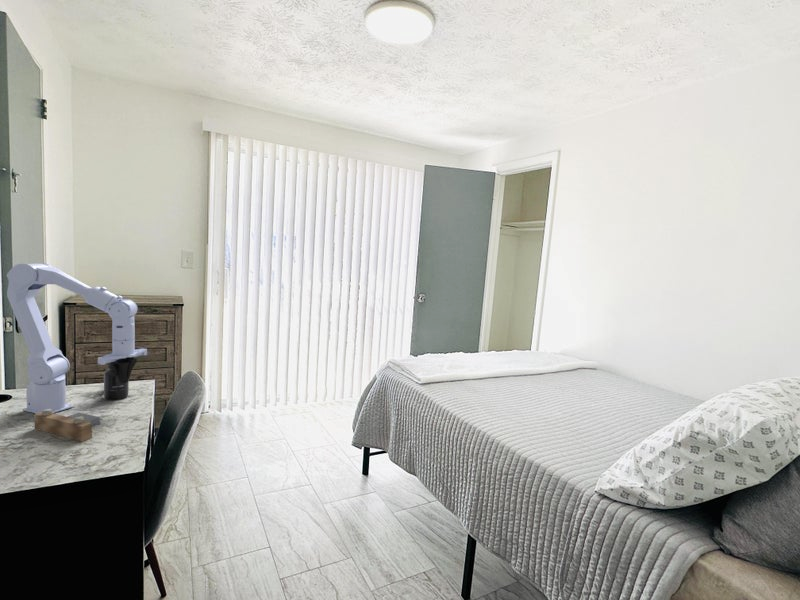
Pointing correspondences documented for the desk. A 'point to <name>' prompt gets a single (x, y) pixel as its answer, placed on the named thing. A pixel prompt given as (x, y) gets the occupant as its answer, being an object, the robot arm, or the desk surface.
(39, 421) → the block
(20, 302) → the robot arm
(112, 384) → the supplement bottle
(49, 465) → the desk surface
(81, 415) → the steel plate
